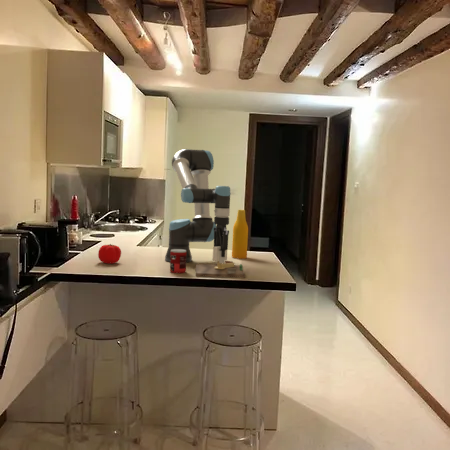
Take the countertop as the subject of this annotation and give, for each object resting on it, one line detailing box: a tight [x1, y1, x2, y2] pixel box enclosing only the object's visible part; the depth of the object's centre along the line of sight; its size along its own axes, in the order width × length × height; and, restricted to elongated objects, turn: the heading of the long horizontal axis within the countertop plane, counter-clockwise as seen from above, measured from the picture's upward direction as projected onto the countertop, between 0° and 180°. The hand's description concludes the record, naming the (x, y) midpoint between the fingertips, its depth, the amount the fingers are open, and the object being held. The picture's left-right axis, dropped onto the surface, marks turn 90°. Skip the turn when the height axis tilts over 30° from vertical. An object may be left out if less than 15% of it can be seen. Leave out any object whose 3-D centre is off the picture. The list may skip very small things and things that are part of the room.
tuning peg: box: [212, 246, 235, 269], centre depth 242 cm, size 5×14×11 cm, turn 132°
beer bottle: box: [231, 209, 249, 260], centre depth 284 cm, size 9×9×29 cm
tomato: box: [97, 243, 122, 265], centre depth 251 cm, size 12×12×10 cm
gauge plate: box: [195, 260, 246, 279], centre depth 240 cm, size 24×24×4 cm
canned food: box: [169, 249, 187, 274], centre depth 236 cm, size 8×8×11 cm
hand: (219, 262), depth 240 cm, fingers closed on tuning peg, 4 cm apart
